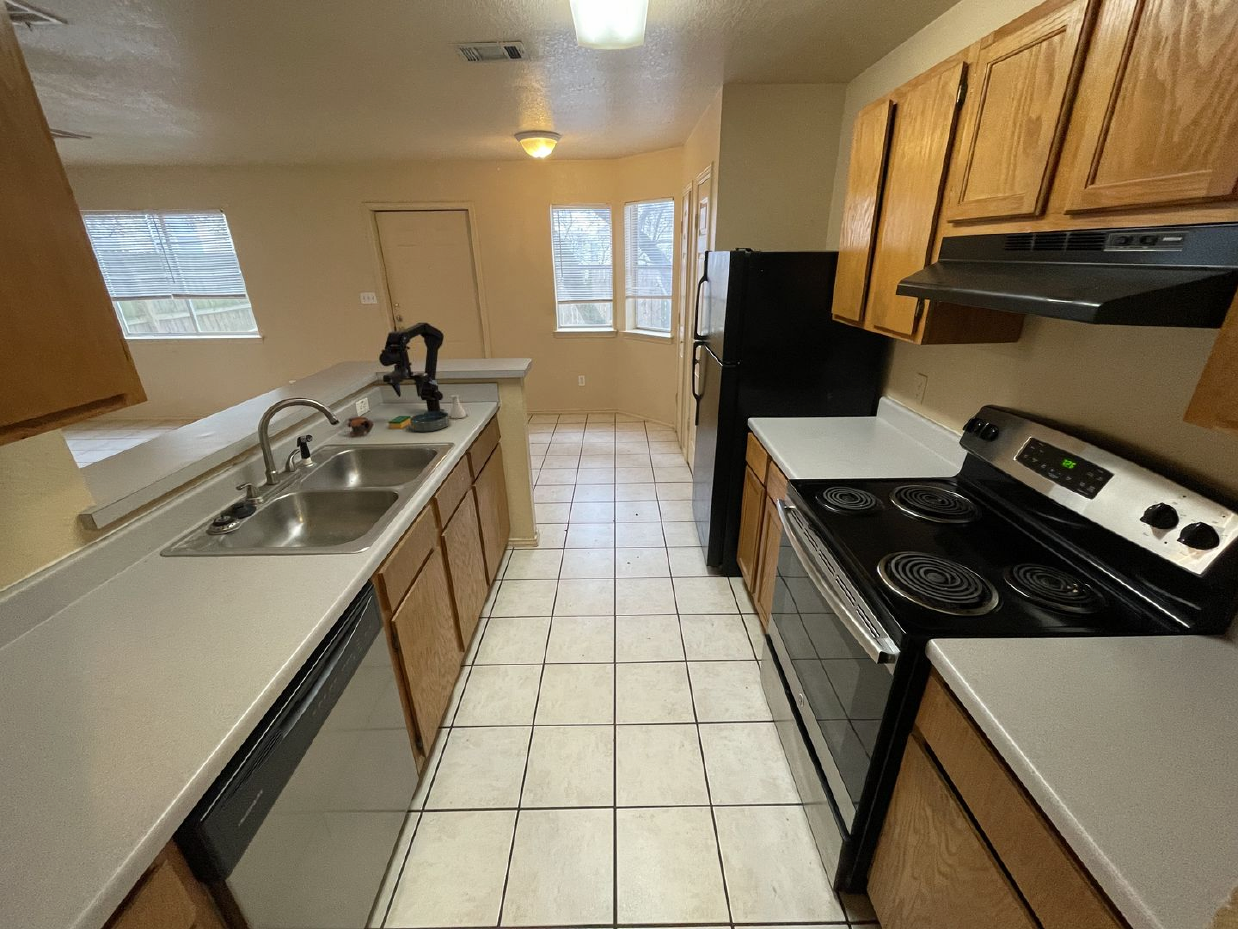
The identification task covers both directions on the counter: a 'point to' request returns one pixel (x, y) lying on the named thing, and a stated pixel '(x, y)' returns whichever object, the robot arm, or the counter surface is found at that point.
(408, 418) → the sponge
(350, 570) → the counter surface
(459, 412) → the flask
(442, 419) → the bowl
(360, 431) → the pottery mug
